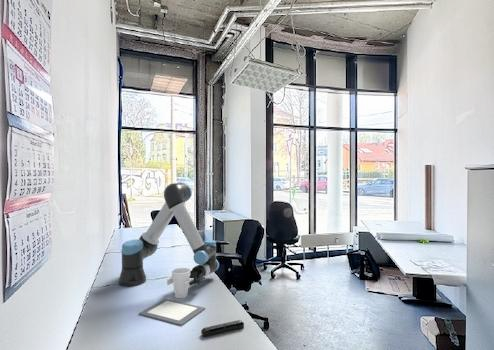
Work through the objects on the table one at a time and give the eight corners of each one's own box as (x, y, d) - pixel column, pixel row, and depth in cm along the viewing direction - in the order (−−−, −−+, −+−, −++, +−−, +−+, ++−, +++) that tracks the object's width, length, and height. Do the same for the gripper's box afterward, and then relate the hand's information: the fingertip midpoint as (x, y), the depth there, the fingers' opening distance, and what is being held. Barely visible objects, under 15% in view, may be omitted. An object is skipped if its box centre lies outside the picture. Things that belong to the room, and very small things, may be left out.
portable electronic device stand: (203, 338, 124) (203, 331, 124) (201, 335, 127) (201, 328, 127) (244, 328, 132) (244, 321, 132) (241, 326, 135) (241, 319, 135)
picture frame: (138, 314, 144) (138, 312, 144) (165, 299, 160) (165, 298, 160) (181, 325, 134) (181, 324, 134) (205, 309, 150) (205, 307, 150)
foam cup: (194, 294, 167) (194, 269, 167) (182, 300, 159) (182, 274, 159) (180, 290, 172) (180, 267, 172) (168, 296, 164) (168, 271, 164)
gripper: (217, 281, 177) (194, 295, 157) (184, 274, 187) (158, 287, 167) (217, 267, 177) (194, 280, 157) (184, 262, 187) (158, 273, 167)
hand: (176, 283), depth 162 cm, fingers open, 10 cm apart
